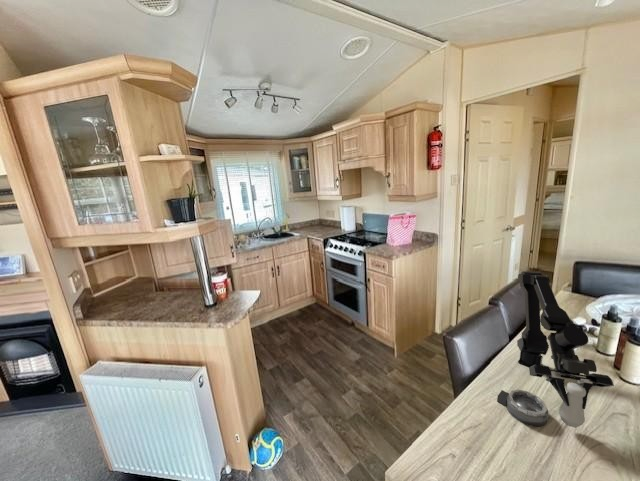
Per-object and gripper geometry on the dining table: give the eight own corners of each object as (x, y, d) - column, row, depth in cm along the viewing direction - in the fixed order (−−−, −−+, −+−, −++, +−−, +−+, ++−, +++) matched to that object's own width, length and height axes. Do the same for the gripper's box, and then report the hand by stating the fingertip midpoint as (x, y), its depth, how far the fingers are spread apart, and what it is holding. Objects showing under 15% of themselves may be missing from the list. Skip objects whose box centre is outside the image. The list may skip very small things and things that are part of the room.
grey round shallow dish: (493, 406, 92) (494, 395, 91) (504, 390, 99) (505, 380, 98) (542, 433, 82) (543, 421, 81) (551, 413, 88) (553, 402, 87)
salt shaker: (576, 416, 83) (583, 380, 80) (587, 432, 78) (595, 395, 75) (553, 411, 85) (559, 377, 82) (563, 427, 80) (569, 391, 77)
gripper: (536, 342, 83) (547, 399, 76) (615, 352, 76) (636, 415, 69) (525, 349, 92) (533, 400, 85) (595, 358, 85) (611, 415, 78)
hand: (575, 407), depth 79 cm, fingers closed on salt shaker, 3 cm apart
